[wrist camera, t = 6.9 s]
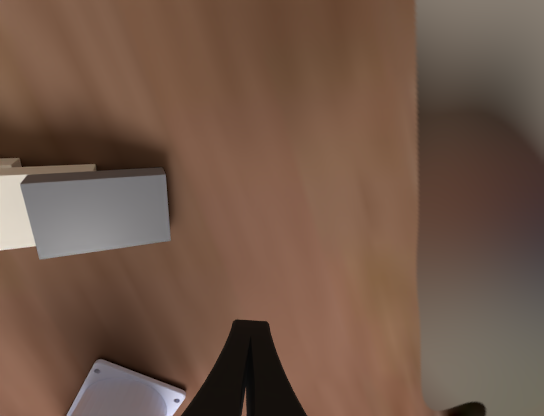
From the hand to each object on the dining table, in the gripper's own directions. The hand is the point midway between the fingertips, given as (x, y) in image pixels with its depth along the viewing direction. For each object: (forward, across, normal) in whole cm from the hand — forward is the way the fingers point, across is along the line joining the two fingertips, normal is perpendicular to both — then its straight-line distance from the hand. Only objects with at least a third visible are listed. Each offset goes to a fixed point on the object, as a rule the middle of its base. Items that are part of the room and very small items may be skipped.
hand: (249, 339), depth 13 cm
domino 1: (+9, +6, -2) cm, 11 cm away
